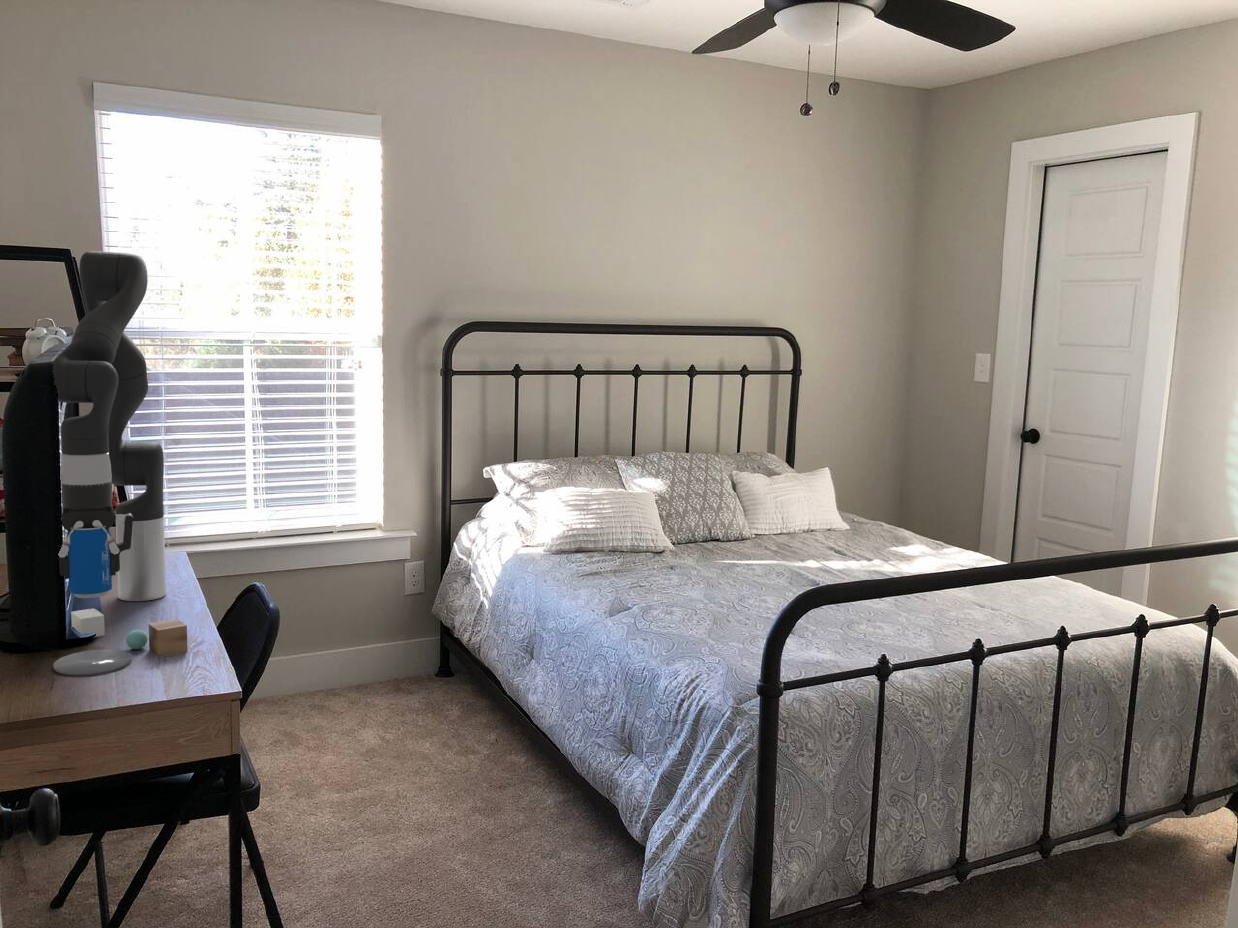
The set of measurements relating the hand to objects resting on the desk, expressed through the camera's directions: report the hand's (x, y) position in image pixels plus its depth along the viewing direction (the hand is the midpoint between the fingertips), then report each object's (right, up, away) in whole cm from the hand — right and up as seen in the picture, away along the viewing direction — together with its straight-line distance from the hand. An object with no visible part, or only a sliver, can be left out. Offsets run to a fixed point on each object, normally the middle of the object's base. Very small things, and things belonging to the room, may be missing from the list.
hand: (90, 575), depth 172 cm
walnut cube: (+9, -15, +10) cm, 20 cm away
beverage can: (0, -3, 0) cm, 3 cm away
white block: (-10, -13, +18) cm, 25 cm away
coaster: (-1, -15, +2) cm, 16 cm away
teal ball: (+3, -13, +10) cm, 17 cm away
